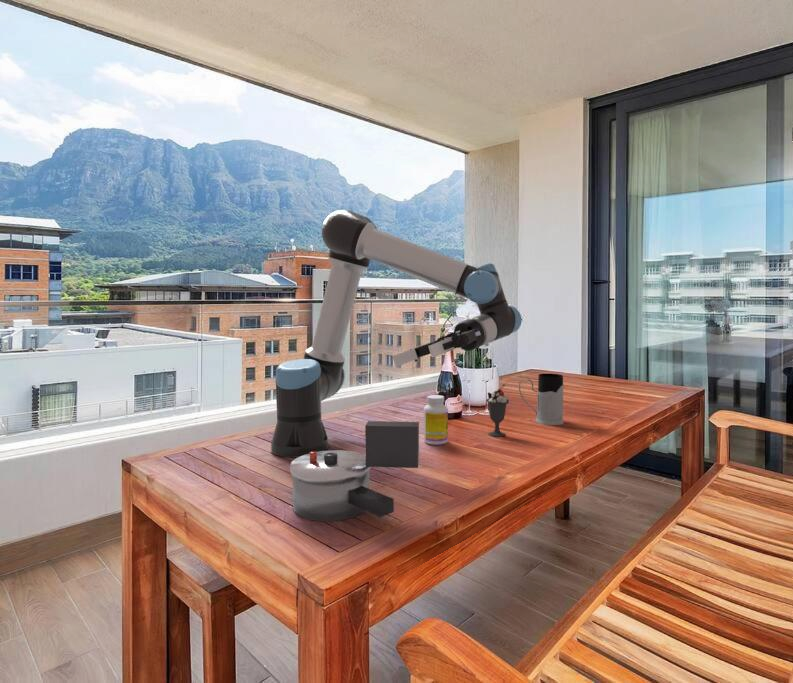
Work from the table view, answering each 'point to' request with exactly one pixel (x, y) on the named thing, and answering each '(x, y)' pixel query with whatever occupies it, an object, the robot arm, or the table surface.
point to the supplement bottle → (435, 421)
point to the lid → (383, 449)
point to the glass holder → (548, 399)
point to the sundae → (497, 410)
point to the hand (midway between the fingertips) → (412, 356)
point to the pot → (338, 500)
